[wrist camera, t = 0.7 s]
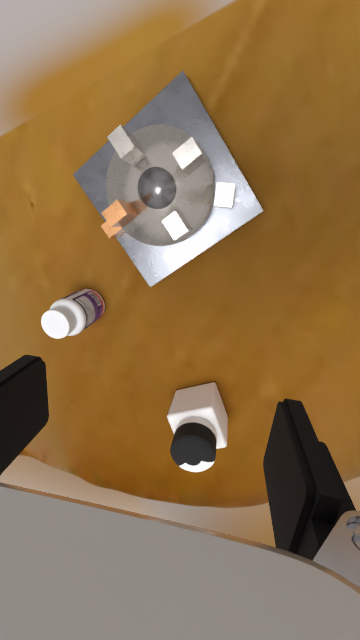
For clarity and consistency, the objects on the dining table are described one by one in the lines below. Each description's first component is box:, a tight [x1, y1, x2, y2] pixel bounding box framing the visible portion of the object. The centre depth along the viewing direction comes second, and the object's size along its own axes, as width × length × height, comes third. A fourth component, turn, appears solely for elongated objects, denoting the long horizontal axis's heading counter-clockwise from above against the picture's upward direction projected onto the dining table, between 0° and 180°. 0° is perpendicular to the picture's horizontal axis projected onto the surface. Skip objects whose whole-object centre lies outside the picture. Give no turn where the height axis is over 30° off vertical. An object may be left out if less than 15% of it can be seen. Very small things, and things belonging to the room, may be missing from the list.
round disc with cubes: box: [101, 125, 215, 246], centre depth 33 cm, size 15×13×7 cm
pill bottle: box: [41, 289, 105, 339], centre depth 41 cm, size 5×5×10 cm
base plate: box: [73, 71, 263, 287], centre depth 36 cm, size 18×18×6 cm
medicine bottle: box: [167, 382, 228, 472], centre depth 42 cm, size 7×7×12 cm
